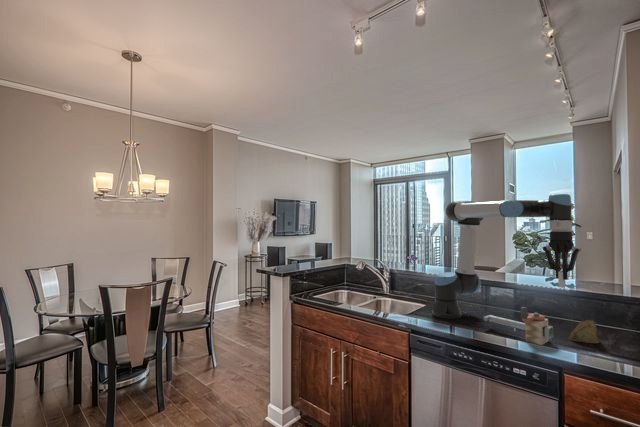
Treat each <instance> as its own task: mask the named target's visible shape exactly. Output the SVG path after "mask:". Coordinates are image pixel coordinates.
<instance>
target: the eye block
mask: <svg viewBox="0 0 640 427" xmlns="http://www.w3.org/2000/svg"><path fill="white" fill-rule="evenodd" d="M524 323H525V330H524V331H525V332H524V333H525V342H529V343H532V344H536V345H540V346H542V345H544V344H546V343H548V342H550V339H547V338H545V335H543V327H544V328H545V327H547V326H549V318H545V320H542V321H540V320H530V321H524Z"/></svg>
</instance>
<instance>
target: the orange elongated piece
mask: <svg viewBox="0 0 640 427" xmlns="http://www.w3.org/2000/svg"><path fill="white" fill-rule="evenodd" d="M520 318H521V321H522V322H525V321H530V320H540V321H542V320H545V319H546V316H545V315H543V314H540V313H538V312H533V313H528V307H526V306H521V307H520Z"/></svg>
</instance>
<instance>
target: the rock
mask: <svg viewBox="0 0 640 427" xmlns="http://www.w3.org/2000/svg"><path fill="white" fill-rule="evenodd" d="M598 332H599V331H598V330H597V326H596V322H595V320H591V319H586V320H582V321H579V322H578V324H577V325H576V327H574V329H572V331H571V333H570V334H569V337H568V340H569V341H573V342H579V343H587V344H588V343H589V344H599V343H600V337H599V333H598Z"/></svg>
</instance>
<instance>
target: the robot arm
mask: <svg viewBox="0 0 640 427" xmlns="http://www.w3.org/2000/svg"><path fill="white" fill-rule="evenodd" d="M572 205H573V204H572V197H571V195H570V194H568V193H558V194H557V193H556V194H550V195H549V196H548V199H541V200H533V199H532V200H531V199H530V200H528V199H527V200H524V199H523V200H521V199H507V200H499V201H497V200H495V201H482V202H479V201H473V200H455V201H452V202H450V203H448V204H447V205H446V207H445V215H446V217H447V218H448V219H449V220H450V221H452V222H457V225H458V226H459V244H458V258H457V260H458V261H457V268H455V269H454V272H451V271H449V272H448V271H446V272H440V273H439V272H438V273H437V274H436V275H435V276H434V303H433V307H432V310H431V311H432V312H431V313H432V315H433V317H437V318H441V319H446V320H447V319H448V320H455V319H460V318H462V311H461V308H460V306H459V303H458V296H462V295H463V296H465V295H472V294H476V293H477V292H478V291H479V290H480V289H481V286H482V282H481V279H480V276H479V275H478V272H477V271H476V270H475V263H476V262H475V260H476V246H477V230H478V228H479V227H480V225H481V222H482V221H483V220H484V219H486V218H549V219H548V220H549V224H548V225H549V230H550V231H549V242H548V244H547V245H545V246H543V247H542V250H543V251H544V253H545V255H546V258H547V263H548V266H549V268H550V269H551V270H553V271H555V279H557V280H558V282H557V284H558V288H563V289H564V288H566V281H567V280H568V278H569V275H568V274H569V272H572V271H574V269H575V265H576V263H577V262H576V261H577V259H578V254H579V253H580V252H581V251H582V249H581V247H577V246H575V244H574V243H573V232H572V230H573V221H572V220H573V219H572ZM551 250H553V255H554V257H553V255H552V251H551ZM570 251H572V253H571V256H570V258H569V257H568V256H569V252H570ZM561 264H562V265H561ZM561 266H562V267H561Z"/></svg>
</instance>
